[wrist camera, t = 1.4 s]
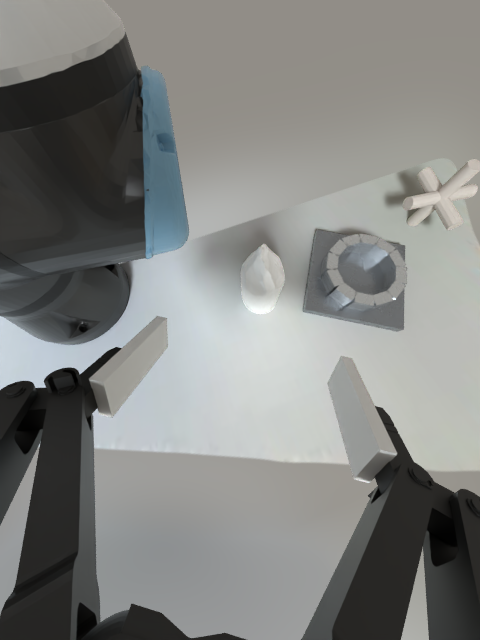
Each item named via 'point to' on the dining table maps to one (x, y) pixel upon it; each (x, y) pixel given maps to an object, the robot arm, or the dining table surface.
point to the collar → (357, 280)
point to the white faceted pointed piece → (261, 280)
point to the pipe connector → (442, 195)
